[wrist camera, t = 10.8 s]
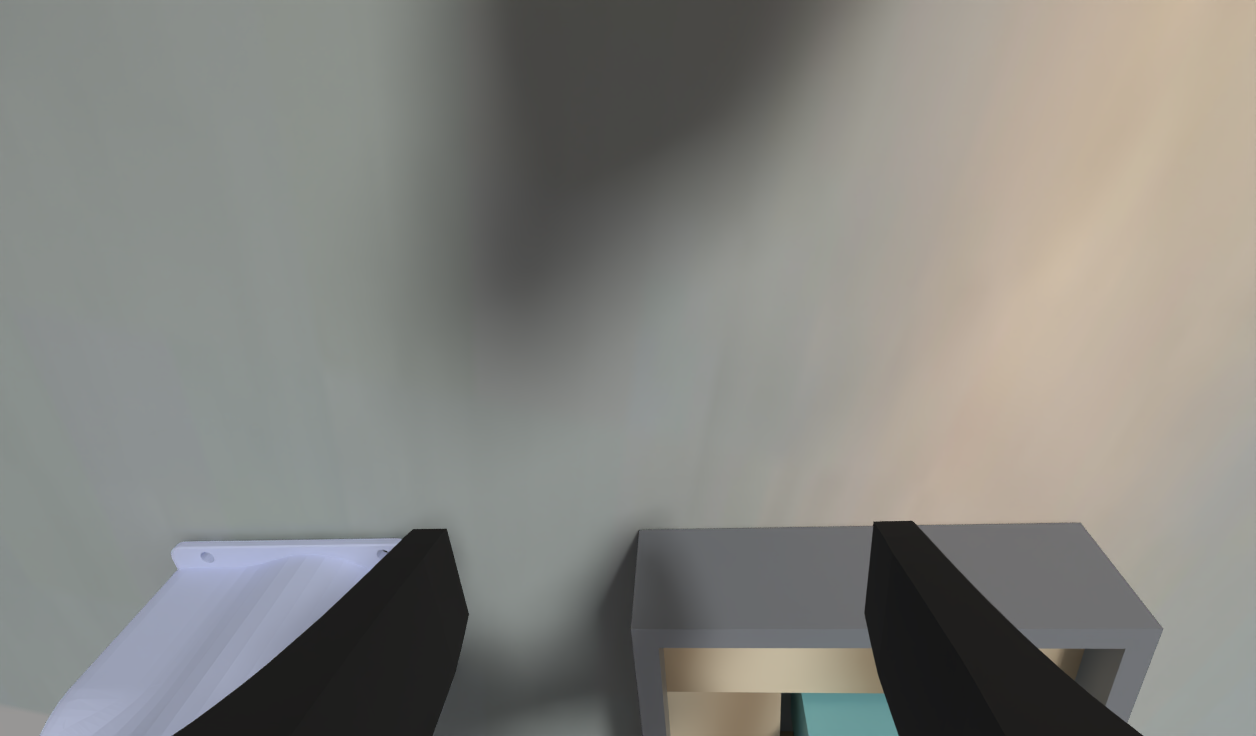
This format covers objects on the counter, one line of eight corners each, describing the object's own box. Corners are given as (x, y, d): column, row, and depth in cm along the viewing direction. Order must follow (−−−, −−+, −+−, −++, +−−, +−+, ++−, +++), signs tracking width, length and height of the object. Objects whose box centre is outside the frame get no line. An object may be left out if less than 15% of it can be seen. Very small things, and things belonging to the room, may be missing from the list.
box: (663, 784, 31) (660, 895, 27) (639, 529, 25) (630, 629, 21) (1005, 791, 30) (1055, 910, 26) (1080, 522, 23) (1163, 628, 19)
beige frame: (680, 786, 30) (679, 844, 28) (662, 558, 24) (660, 610, 22) (995, 793, 29) (1019, 855, 27) (1059, 553, 23) (1097, 608, 21)
